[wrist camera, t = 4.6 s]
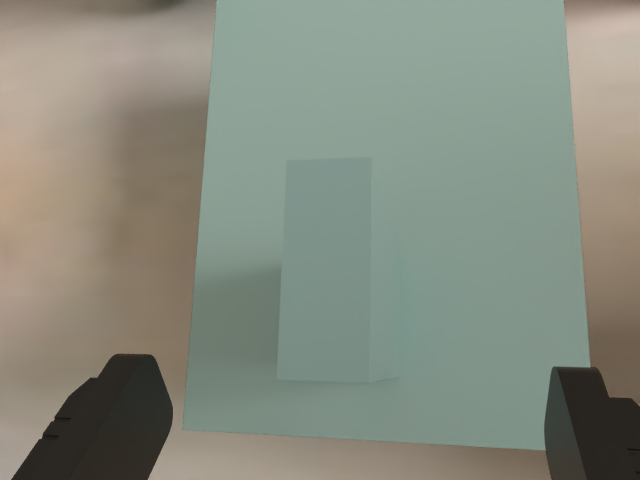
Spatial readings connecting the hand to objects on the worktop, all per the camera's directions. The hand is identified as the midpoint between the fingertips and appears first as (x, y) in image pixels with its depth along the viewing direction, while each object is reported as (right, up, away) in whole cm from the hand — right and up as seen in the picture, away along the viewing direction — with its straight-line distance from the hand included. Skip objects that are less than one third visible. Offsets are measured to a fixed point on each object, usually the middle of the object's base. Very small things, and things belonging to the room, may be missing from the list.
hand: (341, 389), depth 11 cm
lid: (+2, +5, +9) cm, 10 cm away
